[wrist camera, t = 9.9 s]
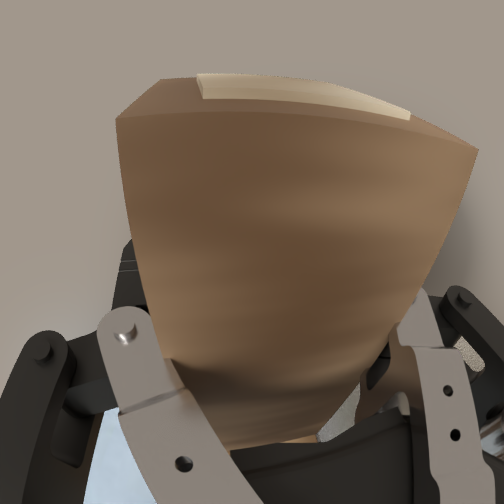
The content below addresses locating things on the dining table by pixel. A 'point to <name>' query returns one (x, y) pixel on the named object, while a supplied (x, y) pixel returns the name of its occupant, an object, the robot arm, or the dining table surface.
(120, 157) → the walnut block
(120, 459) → the dining table surface
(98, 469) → the dining table surface
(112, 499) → the dining table surface
